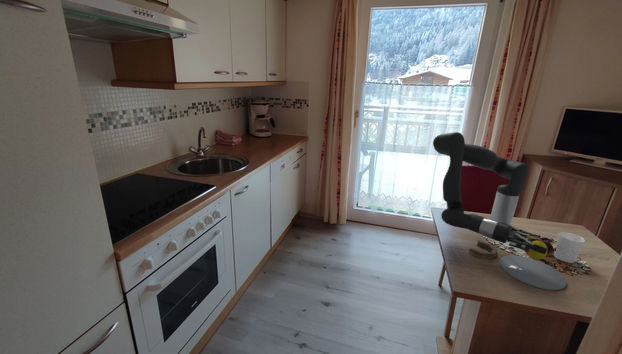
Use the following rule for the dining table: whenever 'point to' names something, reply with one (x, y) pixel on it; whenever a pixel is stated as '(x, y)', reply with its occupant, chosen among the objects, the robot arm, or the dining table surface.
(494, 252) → the lemon holder
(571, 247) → the white cup
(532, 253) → the lemon
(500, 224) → the robot arm
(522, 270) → the plate
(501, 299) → the dining table surface
